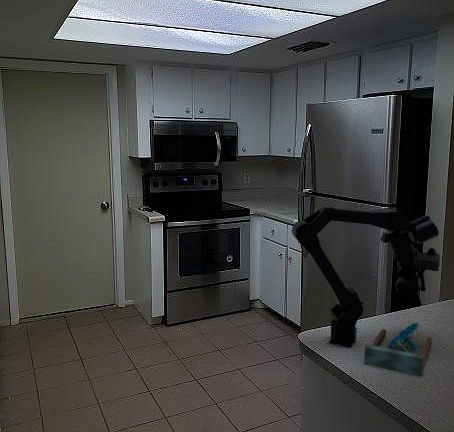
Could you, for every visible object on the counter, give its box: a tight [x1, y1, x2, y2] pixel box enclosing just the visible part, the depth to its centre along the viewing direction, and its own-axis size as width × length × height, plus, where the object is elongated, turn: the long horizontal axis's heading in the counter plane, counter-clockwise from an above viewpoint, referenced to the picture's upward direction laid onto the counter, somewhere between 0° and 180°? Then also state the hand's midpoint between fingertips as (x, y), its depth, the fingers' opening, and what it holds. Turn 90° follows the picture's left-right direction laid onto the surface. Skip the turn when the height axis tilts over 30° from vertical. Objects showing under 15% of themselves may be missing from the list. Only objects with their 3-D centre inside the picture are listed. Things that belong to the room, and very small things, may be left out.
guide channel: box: [363, 328, 433, 377], centre depth 126 cm, size 14×22×4 cm, turn 150°
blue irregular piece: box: [388, 322, 419, 353], centre depth 129 cm, size 11×6×10 cm
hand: (421, 298), depth 134 cm, fingers open, 9 cm apart
